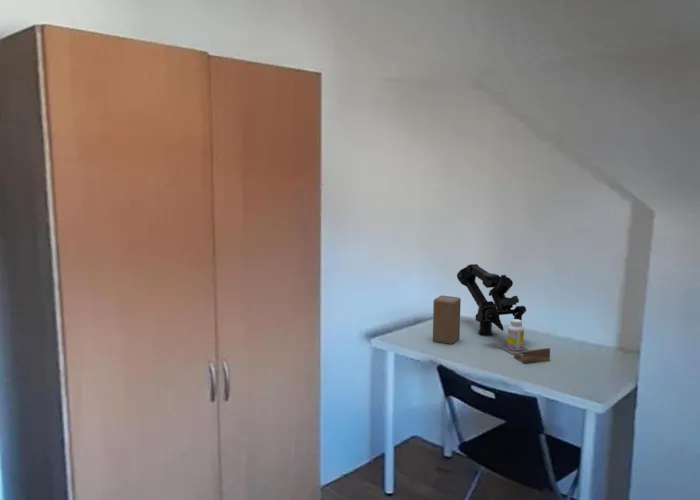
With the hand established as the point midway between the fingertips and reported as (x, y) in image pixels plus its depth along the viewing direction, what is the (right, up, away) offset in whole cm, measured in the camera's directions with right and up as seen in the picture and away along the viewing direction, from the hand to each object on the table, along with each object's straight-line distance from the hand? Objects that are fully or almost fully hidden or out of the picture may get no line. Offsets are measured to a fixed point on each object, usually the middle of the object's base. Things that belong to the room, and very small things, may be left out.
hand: (512, 329), depth 265 cm
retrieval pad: (+1, -9, -2) cm, 9 cm away
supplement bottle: (+1, -8, -2) cm, 9 cm away
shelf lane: (+5, -11, -13) cm, 18 cm away
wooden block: (-27, -7, +12) cm, 30 cm away
